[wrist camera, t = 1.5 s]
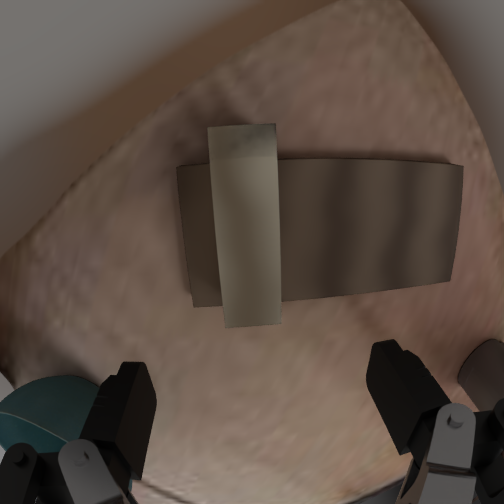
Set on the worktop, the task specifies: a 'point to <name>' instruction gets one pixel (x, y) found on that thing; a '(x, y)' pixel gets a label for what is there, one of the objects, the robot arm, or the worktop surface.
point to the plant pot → (47, 413)
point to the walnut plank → (339, 226)
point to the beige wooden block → (247, 222)
